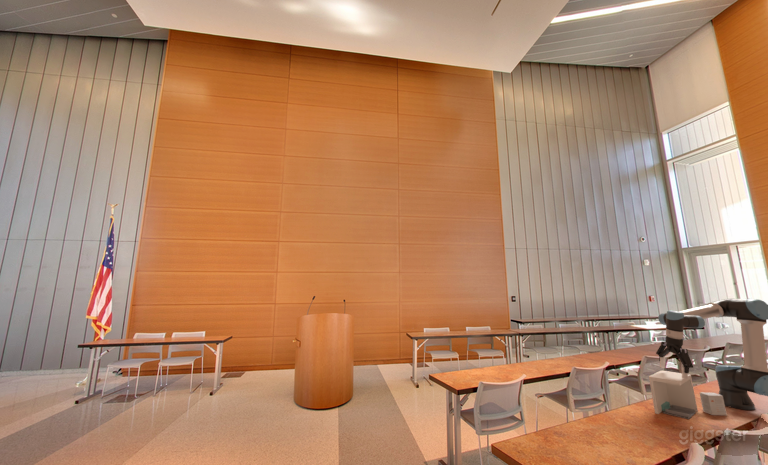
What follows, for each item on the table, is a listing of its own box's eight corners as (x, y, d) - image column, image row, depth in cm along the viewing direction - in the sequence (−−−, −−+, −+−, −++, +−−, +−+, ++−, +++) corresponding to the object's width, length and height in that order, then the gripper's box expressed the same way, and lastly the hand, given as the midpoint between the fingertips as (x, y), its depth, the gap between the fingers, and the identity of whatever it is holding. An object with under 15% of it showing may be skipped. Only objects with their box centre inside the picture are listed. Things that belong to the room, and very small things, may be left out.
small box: (717, 411, 177) (713, 392, 179) (727, 415, 172) (723, 395, 174) (702, 411, 178) (698, 392, 180) (711, 415, 173) (707, 395, 175)
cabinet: (697, 411, 179) (690, 374, 182) (687, 421, 165) (679, 381, 169) (667, 404, 189) (661, 370, 193) (655, 413, 176) (648, 376, 180)
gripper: (649, 330, 194) (648, 363, 194) (689, 344, 169) (688, 382, 169) (660, 330, 194) (659, 364, 194) (702, 344, 170) (701, 383, 169)
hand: (673, 372), depth 182 cm, fingers open, 13 cm apart
